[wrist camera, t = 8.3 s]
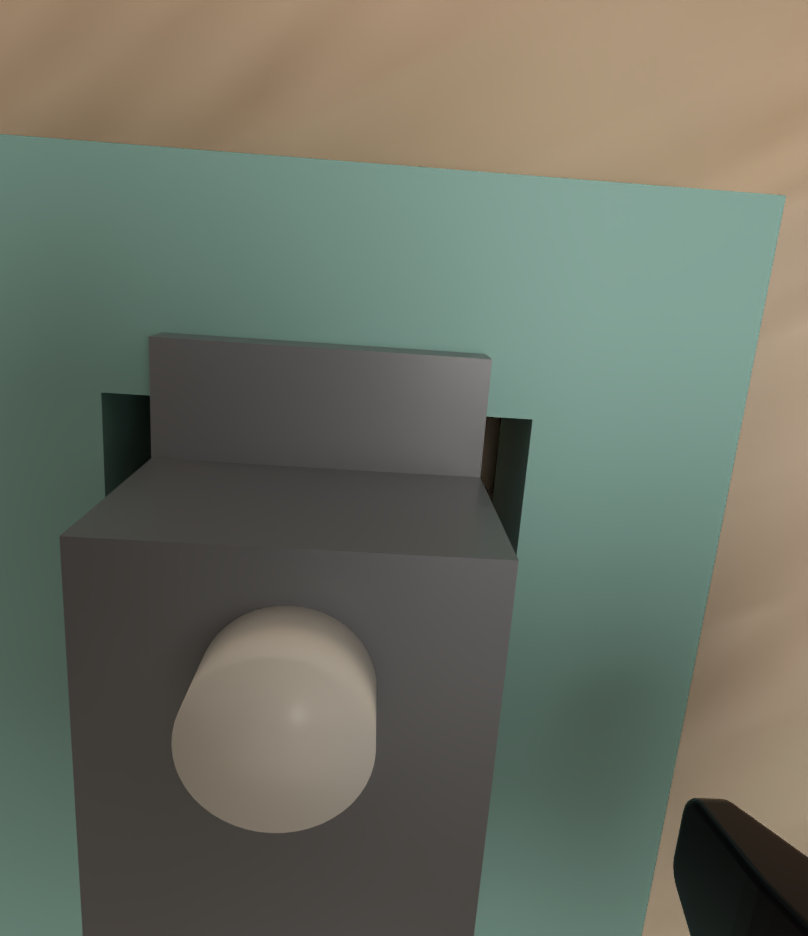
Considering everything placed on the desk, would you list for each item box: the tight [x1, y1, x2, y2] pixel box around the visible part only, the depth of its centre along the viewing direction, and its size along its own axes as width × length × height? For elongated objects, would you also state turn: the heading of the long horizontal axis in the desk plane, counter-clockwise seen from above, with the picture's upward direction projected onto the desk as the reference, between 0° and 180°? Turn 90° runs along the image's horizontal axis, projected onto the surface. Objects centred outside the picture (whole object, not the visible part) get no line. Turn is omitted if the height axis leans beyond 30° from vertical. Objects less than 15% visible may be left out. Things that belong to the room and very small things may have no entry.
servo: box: [59, 332, 519, 936], centre depth 10 cm, size 9×4×7 cm, turn 176°
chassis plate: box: [0, 134, 786, 936], centre depth 12 cm, size 14×12×2 cm
